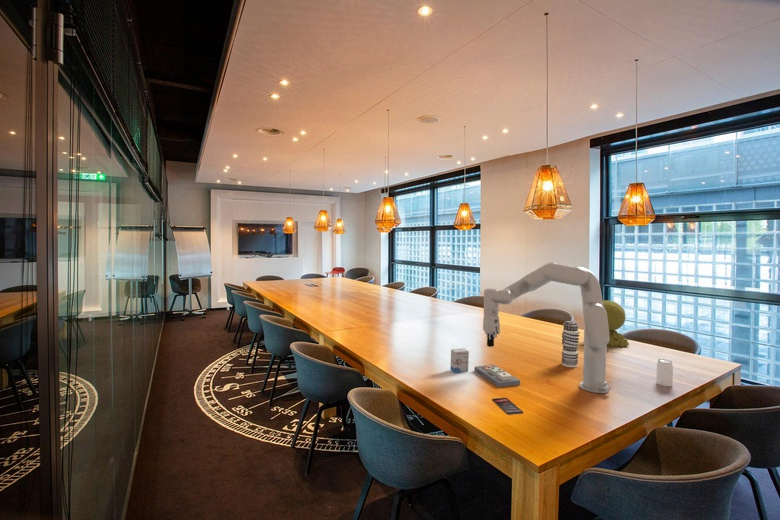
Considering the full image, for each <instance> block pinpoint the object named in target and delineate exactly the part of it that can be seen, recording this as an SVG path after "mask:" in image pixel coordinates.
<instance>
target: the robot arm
mask: <svg viewBox="0 0 780 520" xmlns="http://www.w3.org/2000/svg"><path fill="white" fill-rule="evenodd" d="M551 282H556V283H560V284H566V285H572V286H577V287H579V288H580V295H581V301H582V315H583V319H584V320H583V321H584V332H583V366H582V367H583V368H582V370H583V371H582V375H583V376H582V381H581V382H579V383H578V384H579V385H578V386H579V388H580V389H582V390H584V391H586V392H590V393H596V394H606V393H609V391H611V390H612V387H611V386H608V381H606V380H607V379H606V375H607V374H606V372H607V348H608V347H607V344H608V342H609V326H608V317H607V312H606V310H605V308H604V306H603V302H602V301H603V295H602V289H601V284H600V282H599V279H598V277H597V276H596V275H595V274H594V273H593V272H592V271H591V270H589V269H587V268H585V267H582V266H578V265H577V266H569V265H565V264H564V265H563V264H558V262H557V263H556V262H554V261H550V262H548V263H545V264H544V265H543V264H542V266H540V267H538V268H537V269H535V270H533V271H531V272H529V273H528V274H526V275H524V276H523V277H522V278H520V279H519V280H517V281H516V282H514V283H512V284H509V285H508V286H507V287H504V288H503V289H501V290H498V289H497V288H485V289H484V291H483V320H482V321H483V322H482V331H483V332H484V334H485V335H486V346H487V347H489V348H491V347H495V338H498V335H500V333H501V327H500V326H501V325H500V317H499V304H500V305H509V304H511V303H512V302H513V301H514V300H515V299H518V298H519V297H520V296H522V295H525V294H527V293H530V292H534V291H536V290H538V289H539V288H541V287H543V286H545V285H547V284H548V283H551Z"/></svg>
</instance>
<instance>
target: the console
mask: <svg viewBox="0 0 780 520" xmlns="http://www.w3.org/2000/svg"><path fill="white" fill-rule="evenodd" d="M482 366H483V365H479V366H478V365H477V366H474V372H475V373H477V374H478V375H480V376H481V377H483V378H484V379H485V380H487V381H488V382H490V383H491V384H492V385H494V386H496V387H497V388H506V387H516V386H521V380H520V379H518V378H517V377H515V376H514V375H512V380H506V381H502V380H500V379H499V378H497V375H495V376H494V375H492V374H491V373H489V370H488V371H486V370H485V369H483V368H482ZM485 366H492V367H494V368H495V367H498V368H500V367H499V366H497V365H496V364H488V365H485ZM502 370H503V372H506V371H505V370H504V369H502ZM507 373H508V374H510V373H509V372H507Z"/></svg>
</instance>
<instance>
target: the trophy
mask: <svg viewBox="0 0 780 520" xmlns="http://www.w3.org/2000/svg"><path fill="white" fill-rule="evenodd" d="M602 302H603V306H604V308H605V310H606V312H607V317H608V326H609V342H608V344H607V348H609V347H610V348H625V347H628V346H630V345H629V344H630V343H629V342H628V340H629V339H626V337H625V336H624V335H623V334H622V333H621V332H618V331H617V330H619V329H620V328H621V327H623V325H624V323H625V321H626V311H625V310H624V308H623V307H622V306H621V304H619V303H618V302H615V301H612V300H602Z"/></svg>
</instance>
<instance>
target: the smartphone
mask: <svg viewBox="0 0 780 520" xmlns="http://www.w3.org/2000/svg"><path fill="white" fill-rule="evenodd" d="M491 401H492V402H493V403H495V404H496V405H497V407H499V408H500V409H501V410H502V411H503V412H504V413H505V414H506V415H508V416H509V415H510V416H511V415H520V414H521V415H523V414H524V411H523V410H522V409H521V408H519V407H518V406H517V405H516V404H515V403H513V402H512V400H510V399H509V398H508V397H499V398H498V397H496V398H492V399H491Z"/></svg>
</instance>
